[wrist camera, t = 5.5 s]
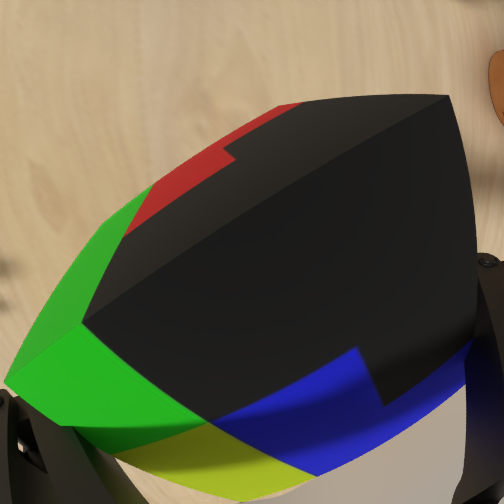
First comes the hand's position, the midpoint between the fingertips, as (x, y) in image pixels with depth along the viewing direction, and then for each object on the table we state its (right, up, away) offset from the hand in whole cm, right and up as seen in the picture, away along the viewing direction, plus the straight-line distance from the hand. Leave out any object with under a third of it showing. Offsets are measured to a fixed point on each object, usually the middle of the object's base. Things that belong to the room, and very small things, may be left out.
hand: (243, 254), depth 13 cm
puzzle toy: (0, +1, +1) cm, 2 cm away
